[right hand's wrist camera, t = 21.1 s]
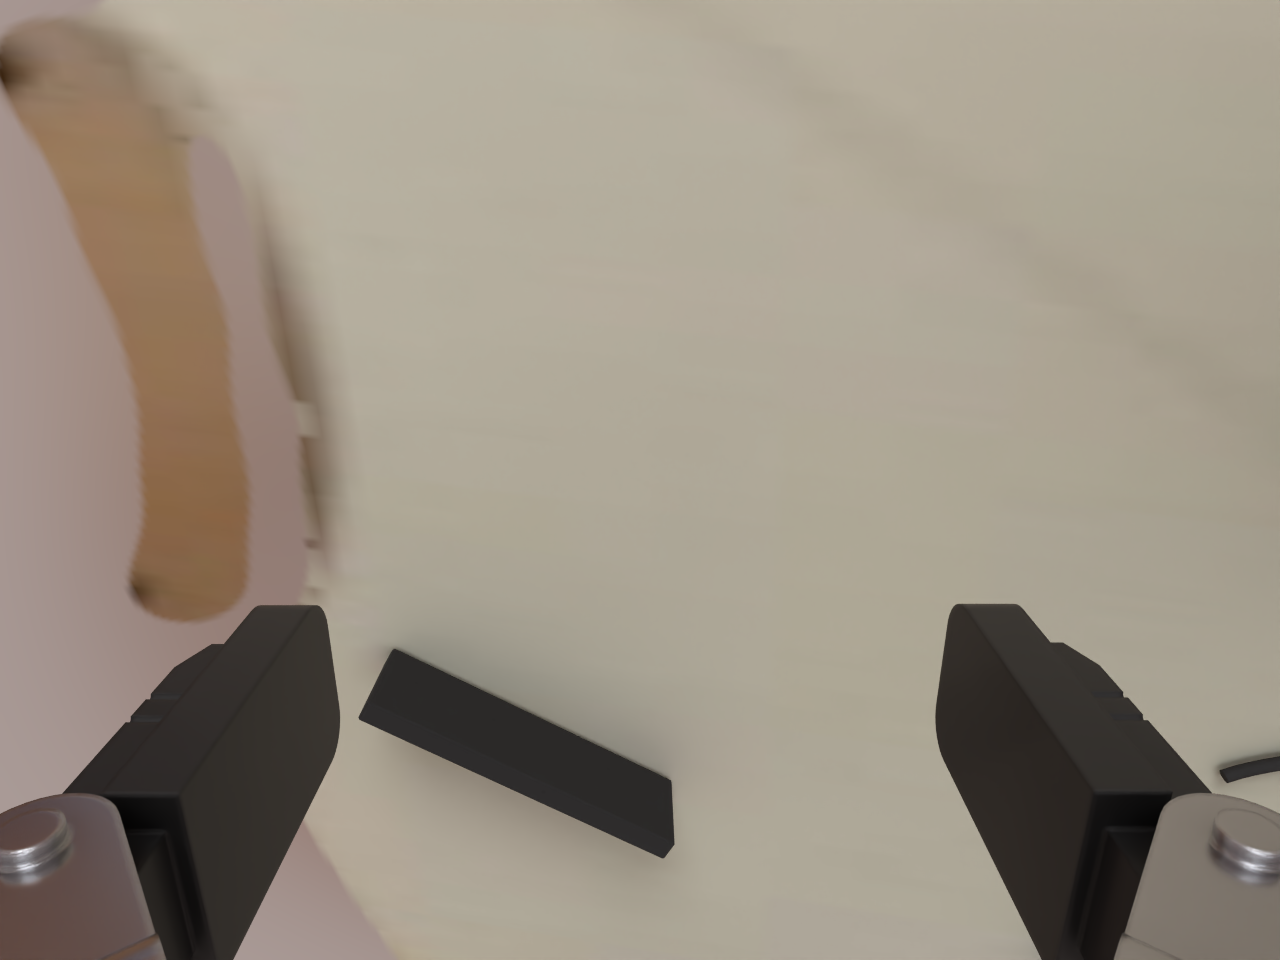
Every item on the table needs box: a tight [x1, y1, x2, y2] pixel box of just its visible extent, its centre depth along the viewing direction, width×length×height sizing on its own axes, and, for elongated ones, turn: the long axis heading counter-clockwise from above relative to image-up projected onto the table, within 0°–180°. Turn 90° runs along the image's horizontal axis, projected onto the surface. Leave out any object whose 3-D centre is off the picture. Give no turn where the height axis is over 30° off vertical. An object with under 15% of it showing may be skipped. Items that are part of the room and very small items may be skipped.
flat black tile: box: [359, 649, 674, 858], centre depth 47 cm, size 18×1×5 cm, turn 60°
